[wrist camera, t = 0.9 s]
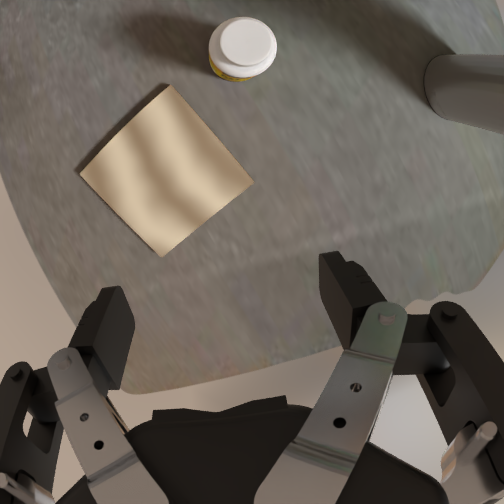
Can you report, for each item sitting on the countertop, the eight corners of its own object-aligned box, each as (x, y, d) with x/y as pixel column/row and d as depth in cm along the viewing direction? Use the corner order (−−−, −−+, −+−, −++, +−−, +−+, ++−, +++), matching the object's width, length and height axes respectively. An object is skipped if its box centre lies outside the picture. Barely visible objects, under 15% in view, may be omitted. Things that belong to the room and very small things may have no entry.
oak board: (171, 85, 29) (170, 84, 28) (253, 180, 35) (254, 182, 34) (82, 171, 32) (79, 174, 31) (162, 253, 38) (161, 257, 37)
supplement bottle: (213, 86, 30) (213, 80, 21) (205, 38, 27) (203, 14, 18) (266, 79, 30) (288, 71, 21) (258, 31, 27) (278, 6, 18)
